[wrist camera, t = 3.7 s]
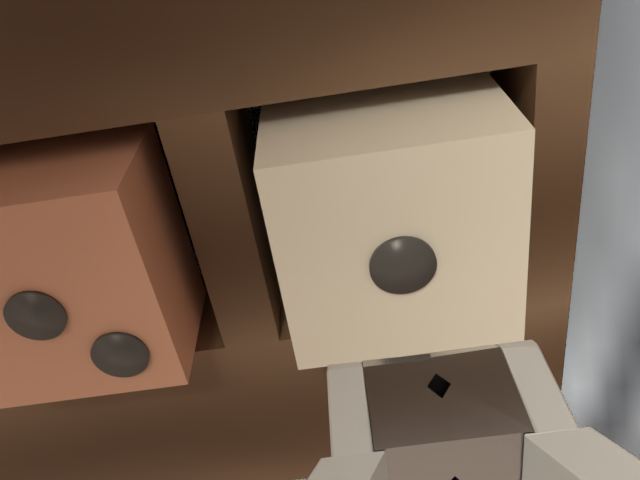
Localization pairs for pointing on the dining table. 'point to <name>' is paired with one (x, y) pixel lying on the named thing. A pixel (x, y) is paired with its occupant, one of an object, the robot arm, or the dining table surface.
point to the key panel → (243, 199)
